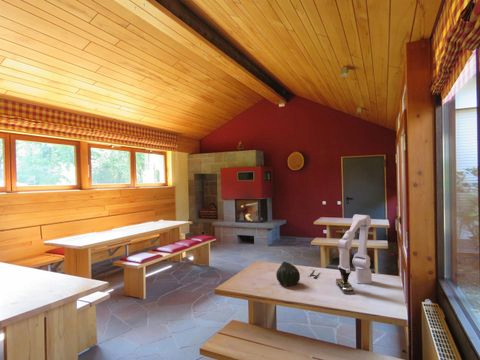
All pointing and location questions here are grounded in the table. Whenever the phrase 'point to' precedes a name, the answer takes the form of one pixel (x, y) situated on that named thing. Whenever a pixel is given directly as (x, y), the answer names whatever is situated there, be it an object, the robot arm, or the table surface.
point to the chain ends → (345, 287)
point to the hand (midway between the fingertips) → (344, 281)
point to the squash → (287, 274)
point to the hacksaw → (314, 275)
